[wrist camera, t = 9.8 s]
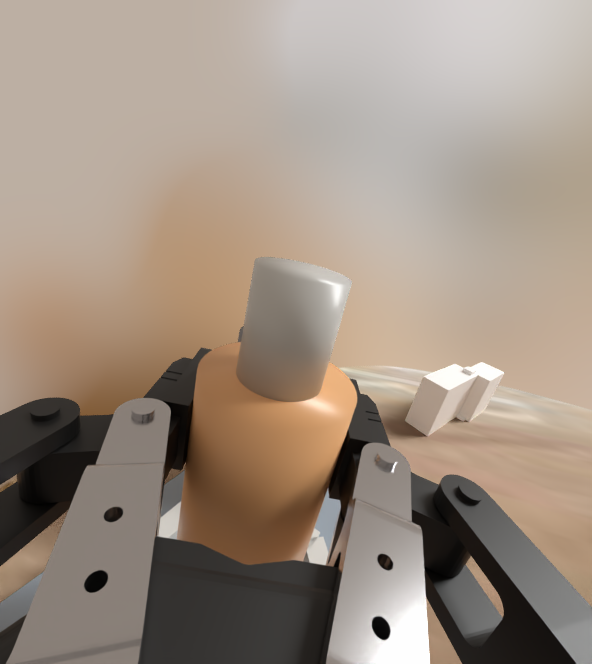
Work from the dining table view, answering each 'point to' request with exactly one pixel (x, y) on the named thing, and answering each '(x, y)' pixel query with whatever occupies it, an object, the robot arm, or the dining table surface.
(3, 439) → the robot arm
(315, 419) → the orange lotion bottle
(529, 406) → the dining table surface
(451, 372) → the white stepped block
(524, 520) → the dining table surface
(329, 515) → the bottle holder tray
